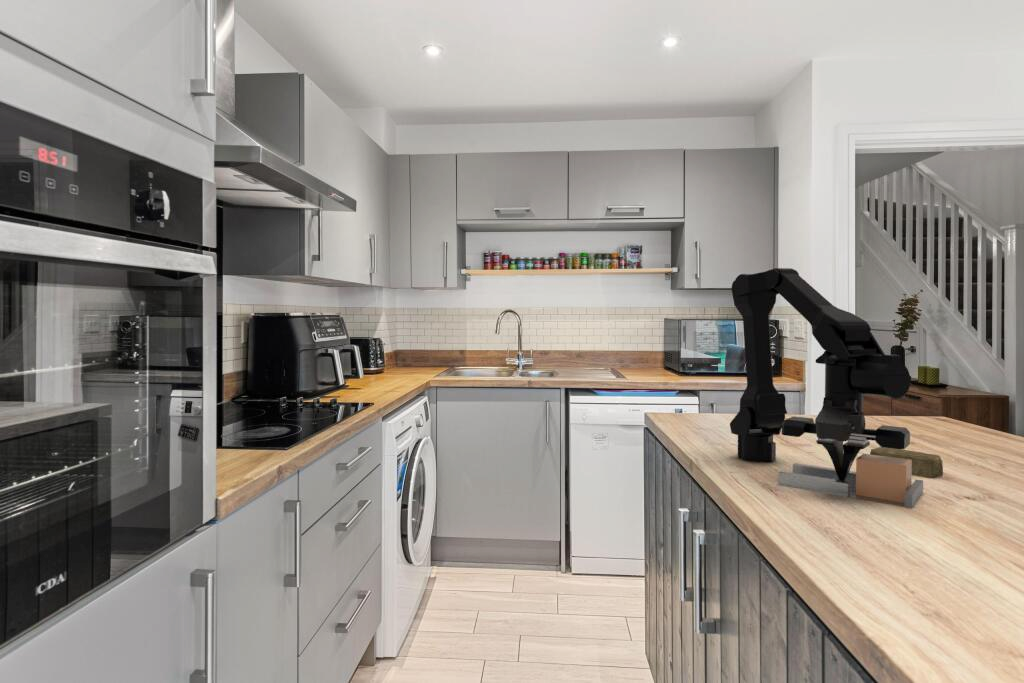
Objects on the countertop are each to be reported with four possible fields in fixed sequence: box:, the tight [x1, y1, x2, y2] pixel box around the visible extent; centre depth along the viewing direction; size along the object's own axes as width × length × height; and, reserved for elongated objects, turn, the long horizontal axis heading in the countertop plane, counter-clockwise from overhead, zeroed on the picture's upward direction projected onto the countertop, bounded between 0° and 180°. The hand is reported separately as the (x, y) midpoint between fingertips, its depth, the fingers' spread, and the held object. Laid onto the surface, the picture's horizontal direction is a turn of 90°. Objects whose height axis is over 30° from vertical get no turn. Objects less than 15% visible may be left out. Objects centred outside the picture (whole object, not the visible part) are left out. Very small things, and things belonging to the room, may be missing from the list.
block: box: [855, 453, 913, 503], centre depth 98 cm, size 7×5×6 cm
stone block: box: [869, 446, 944, 479], centre depth 114 cm, size 6×12×5 cm, turn 38°
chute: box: [776, 462, 924, 509], centre depth 102 cm, size 20×11×3 cm, turn 48°
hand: (842, 481), depth 103 cm, fingers closed
